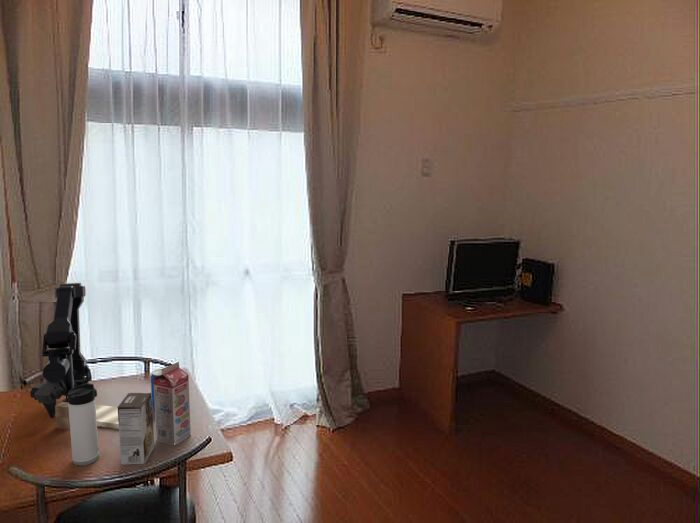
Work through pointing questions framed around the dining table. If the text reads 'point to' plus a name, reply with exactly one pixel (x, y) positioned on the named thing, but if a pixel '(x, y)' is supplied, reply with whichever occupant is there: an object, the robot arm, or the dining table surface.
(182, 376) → the milk carton
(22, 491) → the dining table surface
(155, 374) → the beverage can
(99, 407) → the board
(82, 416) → the travel mug
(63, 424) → the block
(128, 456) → the coffee box
